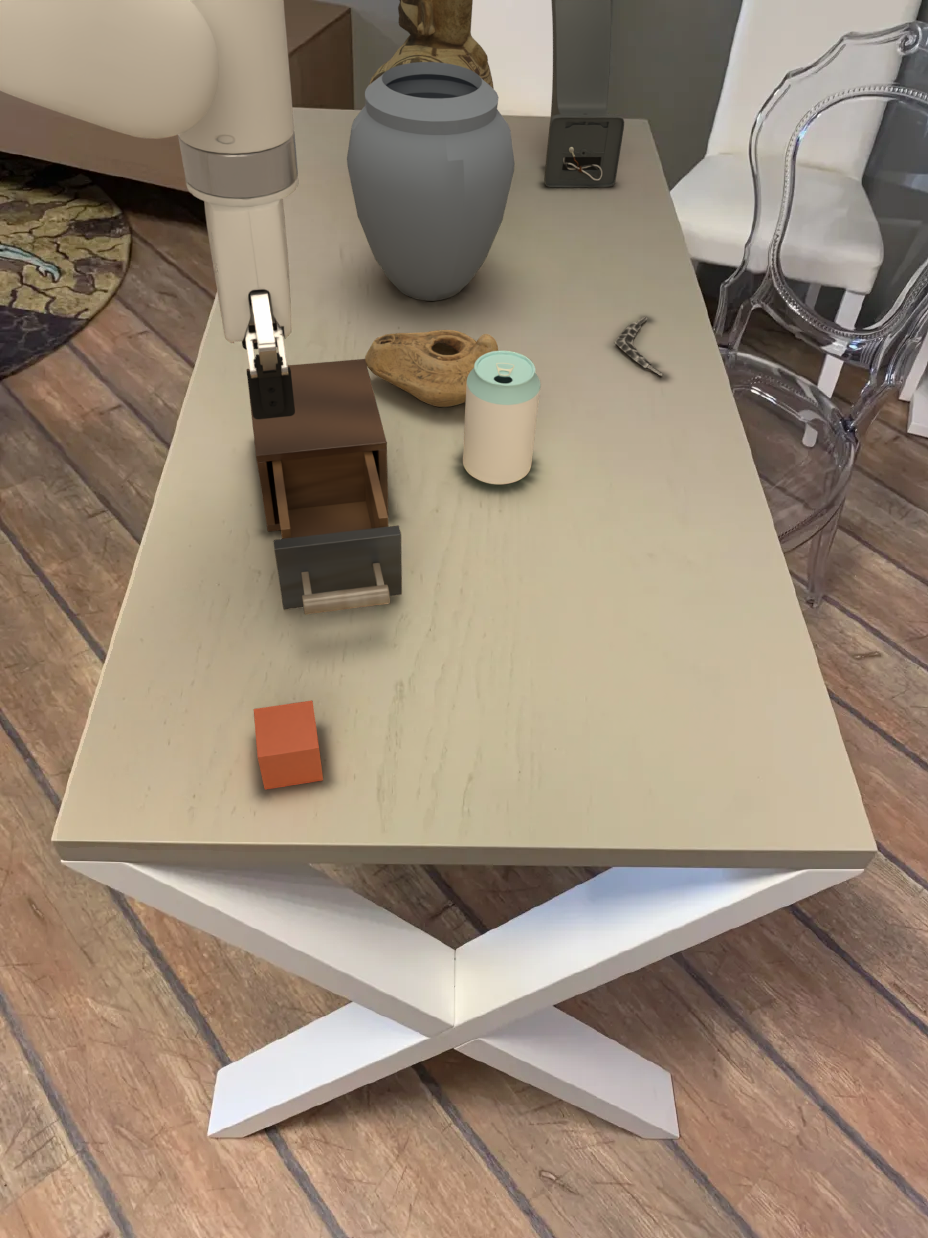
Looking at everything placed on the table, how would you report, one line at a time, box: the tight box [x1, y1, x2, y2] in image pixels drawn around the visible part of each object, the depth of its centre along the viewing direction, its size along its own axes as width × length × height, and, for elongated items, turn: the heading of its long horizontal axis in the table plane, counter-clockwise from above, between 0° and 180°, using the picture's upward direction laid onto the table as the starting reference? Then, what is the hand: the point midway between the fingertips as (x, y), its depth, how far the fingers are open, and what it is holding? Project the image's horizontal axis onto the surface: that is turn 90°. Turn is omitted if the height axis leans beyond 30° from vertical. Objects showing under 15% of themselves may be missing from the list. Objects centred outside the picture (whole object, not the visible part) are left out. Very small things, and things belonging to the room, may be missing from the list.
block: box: [253, 700, 324, 790], centre depth 71 cm, size 4×4×4 cm
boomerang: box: [614, 316, 664, 377], centre depth 113 cm, size 13×1×5 cm
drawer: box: [272, 451, 403, 615], centre depth 82 cm, size 17×10×7 cm, turn 12°
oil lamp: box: [364, 329, 499, 408], centre depth 103 cm, size 11×15×8 cm
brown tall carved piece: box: [368, 0, 495, 90], centre depth 131 cm, size 19×21×30 cm
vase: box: [346, 62, 515, 302], centre depth 112 cm, size 20×20×24 cm
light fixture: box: [543, 0, 625, 188], centre depth 139 cm, size 11×17×24 cm, turn 6°
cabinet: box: [246, 358, 390, 532], centre depth 91 cm, size 14×12×9 cm
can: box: [462, 350, 542, 485], centre depth 93 cm, size 7×7×12 cm
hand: (268, 379), depth 76 cm, fingers open, 9 cm apart
